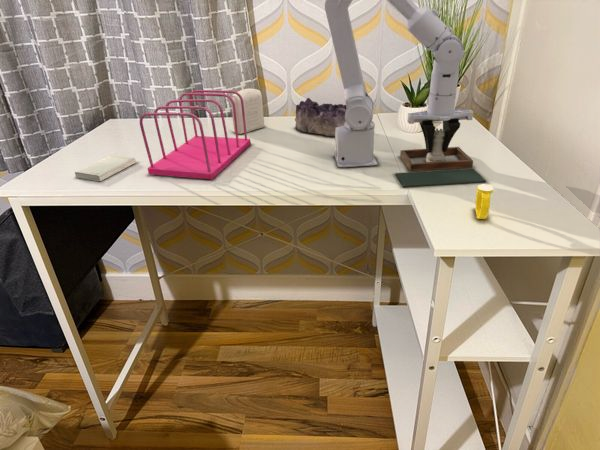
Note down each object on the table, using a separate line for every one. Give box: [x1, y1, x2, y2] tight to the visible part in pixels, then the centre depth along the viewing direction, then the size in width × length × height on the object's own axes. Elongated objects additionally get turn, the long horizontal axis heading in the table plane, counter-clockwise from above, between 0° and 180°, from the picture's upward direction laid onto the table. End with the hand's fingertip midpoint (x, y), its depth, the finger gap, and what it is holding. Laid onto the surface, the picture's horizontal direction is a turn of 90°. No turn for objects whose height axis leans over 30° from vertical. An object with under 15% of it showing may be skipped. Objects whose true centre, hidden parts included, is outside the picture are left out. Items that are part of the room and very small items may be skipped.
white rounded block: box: [230, 88, 265, 135], centre depth 131 cm, size 10×4×12 cm, turn 134°
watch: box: [475, 183, 495, 220], centre depth 80 cm, size 6×3×6 cm, turn 168°
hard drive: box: [74, 154, 137, 182], centre depth 110 cm, size 2×8×12 cm
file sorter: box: [139, 89, 252, 180], centre depth 110 cm, size 17×25×16 cm
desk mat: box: [395, 168, 487, 188], centre depth 96 cm, size 18×7×1 cm, turn 93°
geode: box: [294, 97, 346, 137], centre depth 127 cm, size 20×12×10 cm, turn 64°
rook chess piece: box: [425, 128, 446, 162], centre depth 103 cm, size 4×4×8 cm
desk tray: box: [399, 146, 474, 172], centre depth 104 cm, size 15×10×2 cm, turn 93°
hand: (436, 150), depth 103 cm, fingers closed on rook chess piece, 3 cm apart
